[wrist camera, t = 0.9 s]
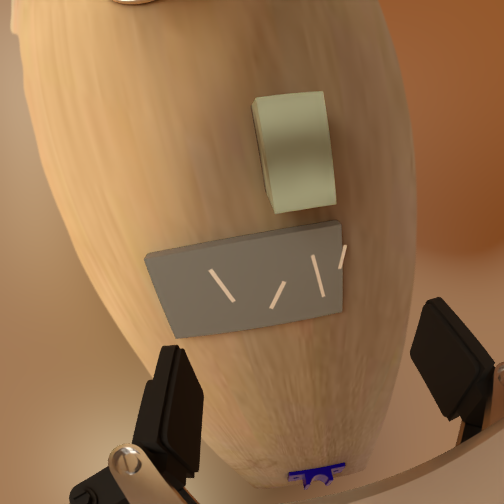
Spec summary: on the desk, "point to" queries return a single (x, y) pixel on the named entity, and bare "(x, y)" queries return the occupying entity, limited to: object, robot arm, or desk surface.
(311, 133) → the block
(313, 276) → the board
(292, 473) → the mounting bracket
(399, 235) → the desk surface
